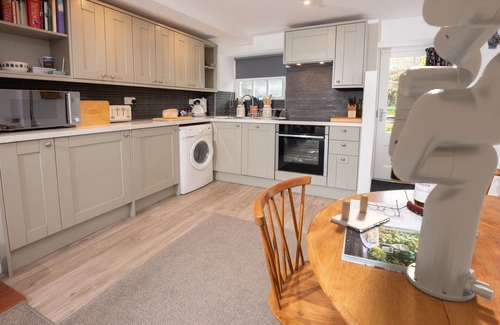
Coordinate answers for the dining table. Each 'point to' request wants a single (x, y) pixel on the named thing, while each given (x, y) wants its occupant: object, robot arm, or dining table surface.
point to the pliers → (415, 208)
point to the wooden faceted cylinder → (398, 180)
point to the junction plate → (358, 215)
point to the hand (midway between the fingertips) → (402, 177)
